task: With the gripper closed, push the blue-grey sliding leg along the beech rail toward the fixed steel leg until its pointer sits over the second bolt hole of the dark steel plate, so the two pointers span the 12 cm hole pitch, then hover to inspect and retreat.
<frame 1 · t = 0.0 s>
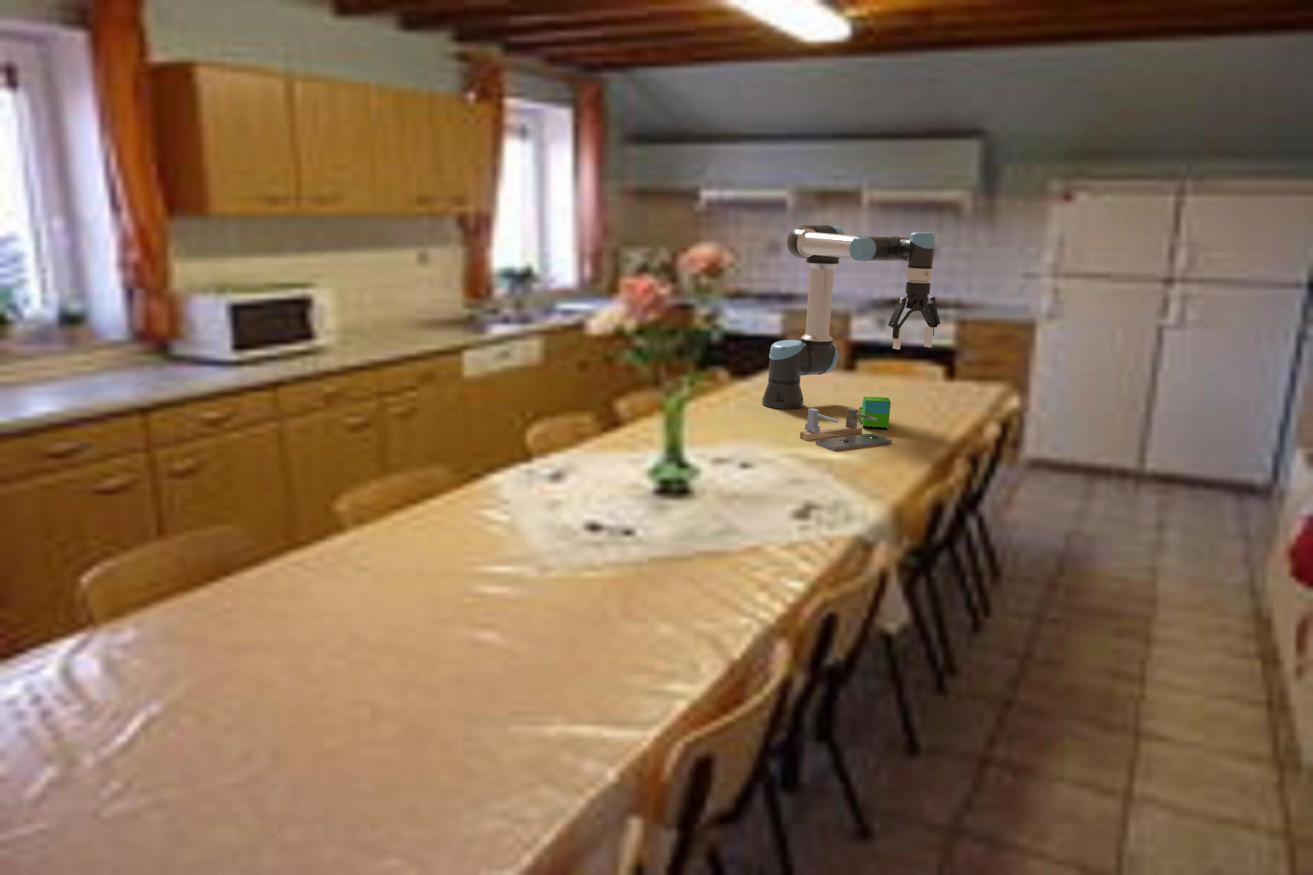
hand: (912, 348, 306), 28 cm above the table, fingers open, 13 cm apart
hole plate: (853, 443, 295), on the table
rail: (831, 435, 304), on the table
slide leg: (821, 423, 295), point 6 cm above the table, slide at -8.0 cm
green box: (873, 426, 320), on the table
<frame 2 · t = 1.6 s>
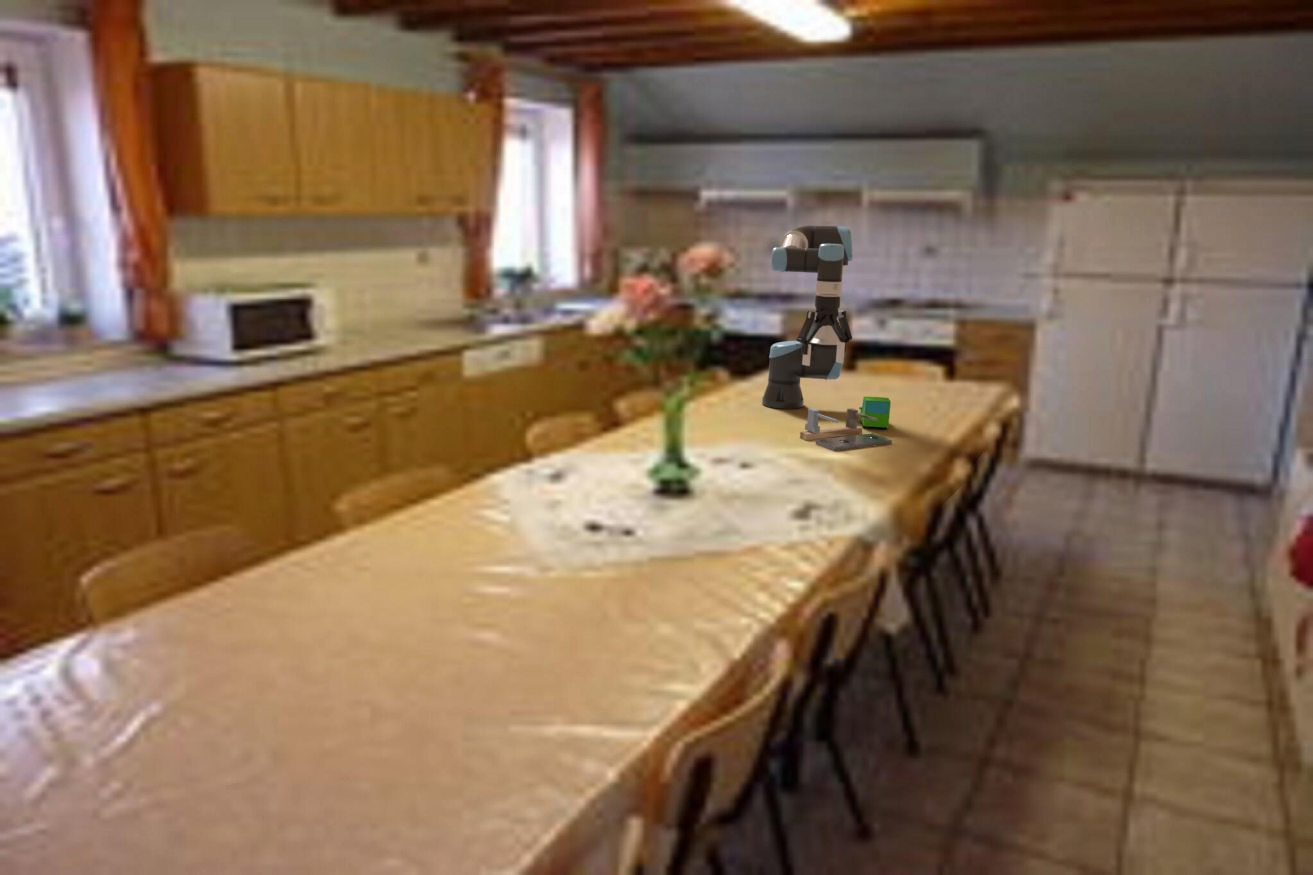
hand: (822, 364, 294), 24 cm above the table, fingers open, 13 cm apart
nothing on the table moved.
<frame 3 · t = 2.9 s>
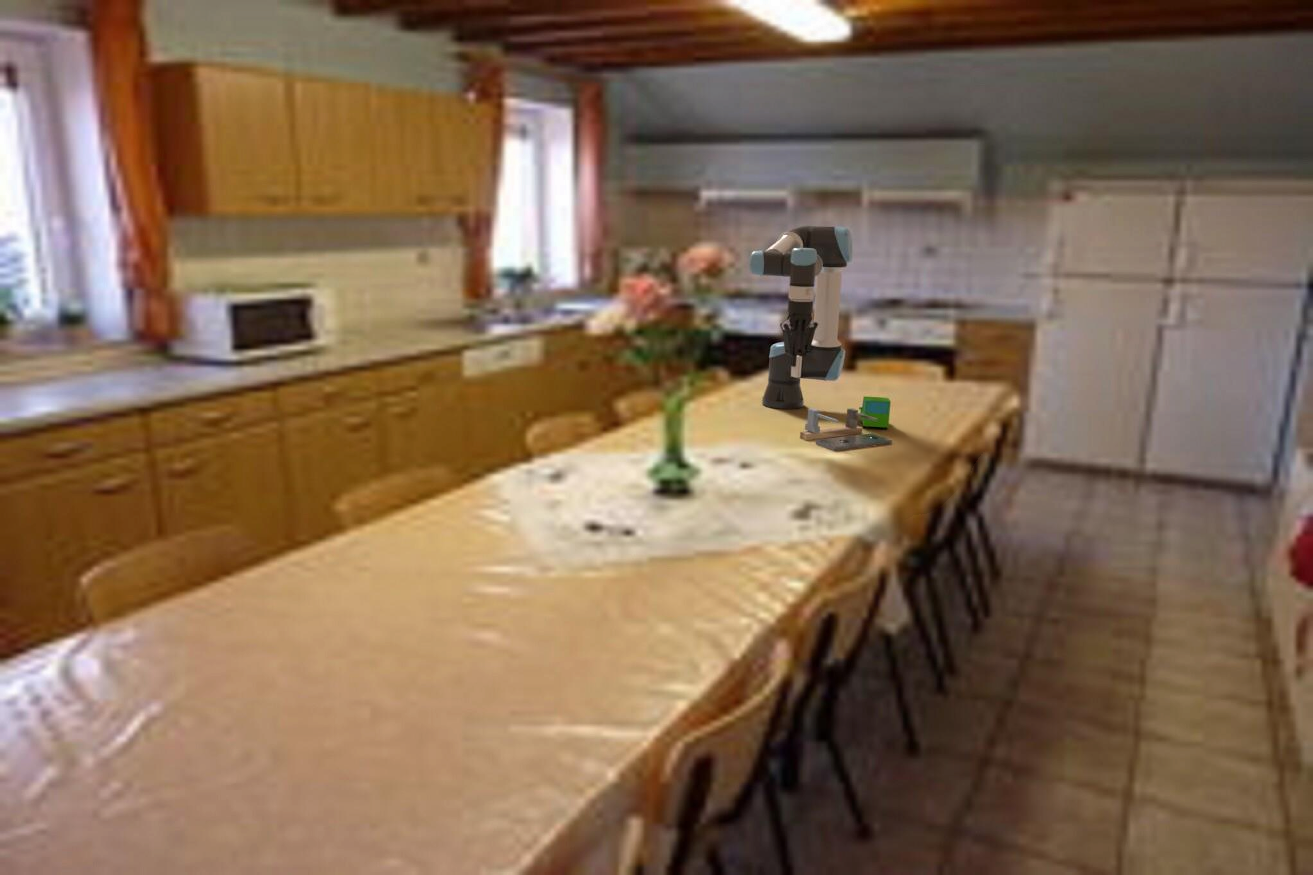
hand: (795, 376, 292), 20 cm above the table, fingers closed
nothing on the table moved.
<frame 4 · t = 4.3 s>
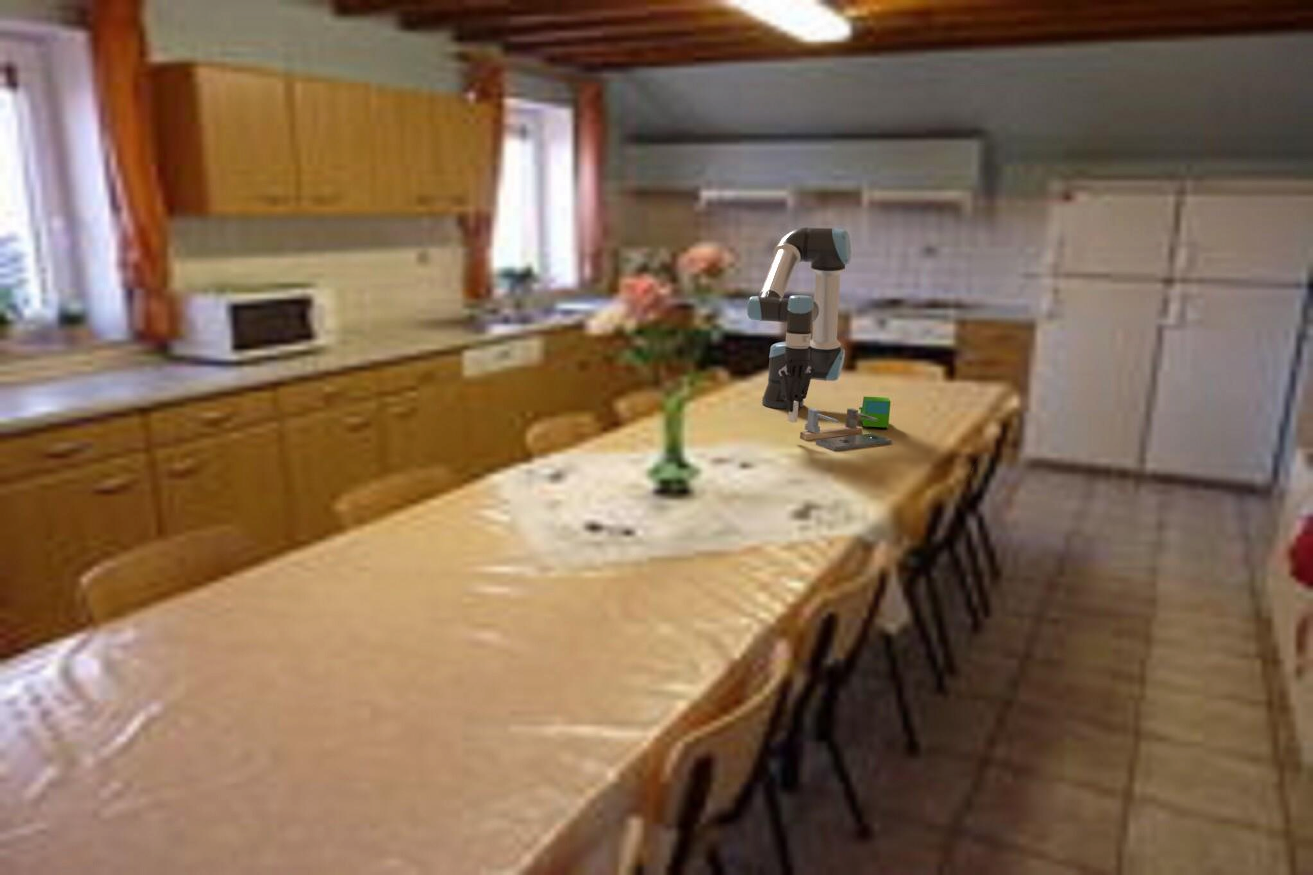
hand: (792, 421, 295), 6 cm above the table, fingers closed
nothing on the table moved.
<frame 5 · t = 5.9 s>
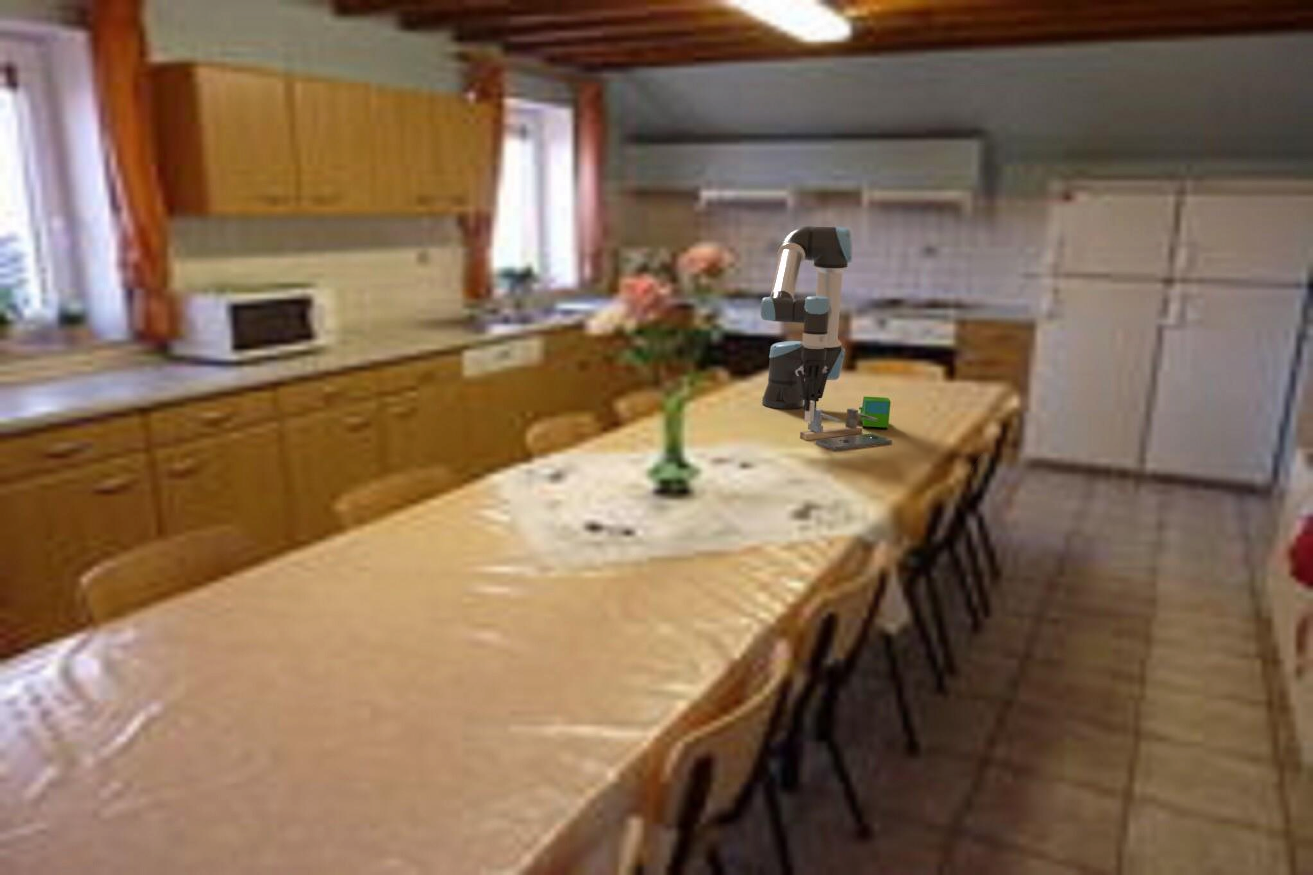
hand: (808, 420, 298), 6 cm above the table, fingers closed
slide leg: (825, 423, 296), point 6 cm above the table, slide at -6.7 cm, touching gripper
everything else where it was.
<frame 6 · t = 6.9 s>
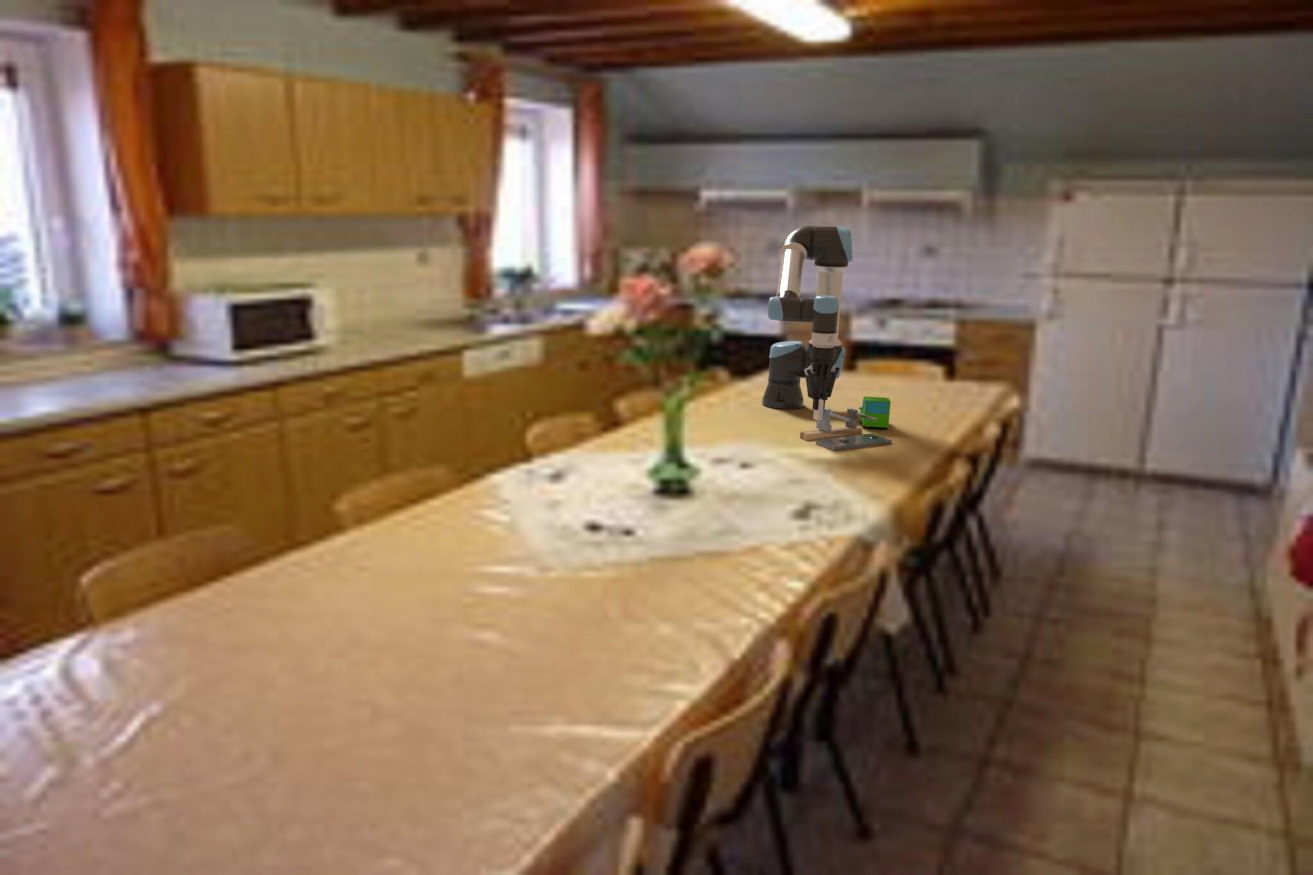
hand: (817, 419, 300), 6 cm above the table, fingers closed
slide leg: (833, 422, 297), point 6 cm above the table, slide at -3.3 cm, touching gripper
everything else where it was.
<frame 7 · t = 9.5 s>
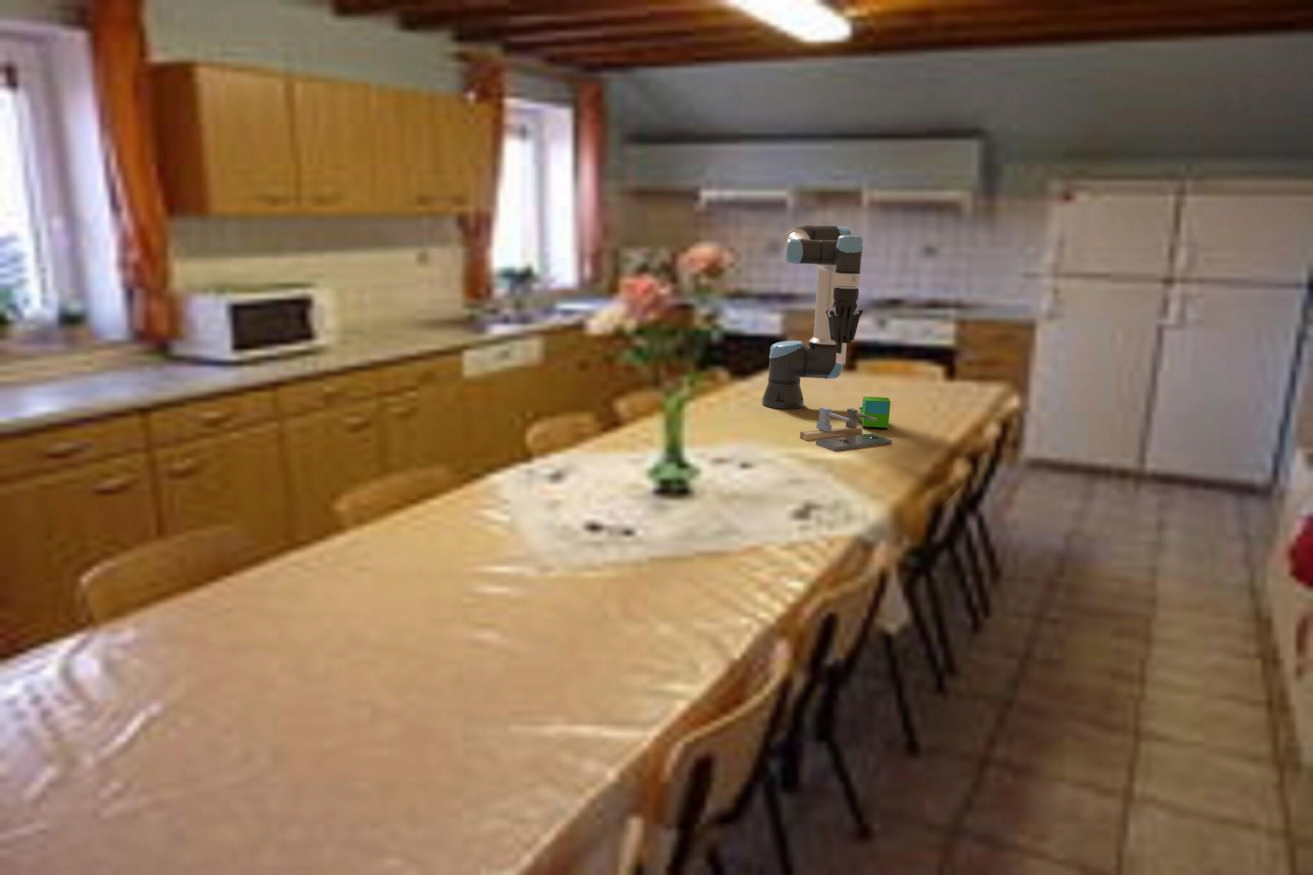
hand: (840, 363, 294), 24 cm above the table, fingers closed
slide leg: (833, 422, 297), point 6 cm above the table, slide at -3.3 cm
everything else where it was.
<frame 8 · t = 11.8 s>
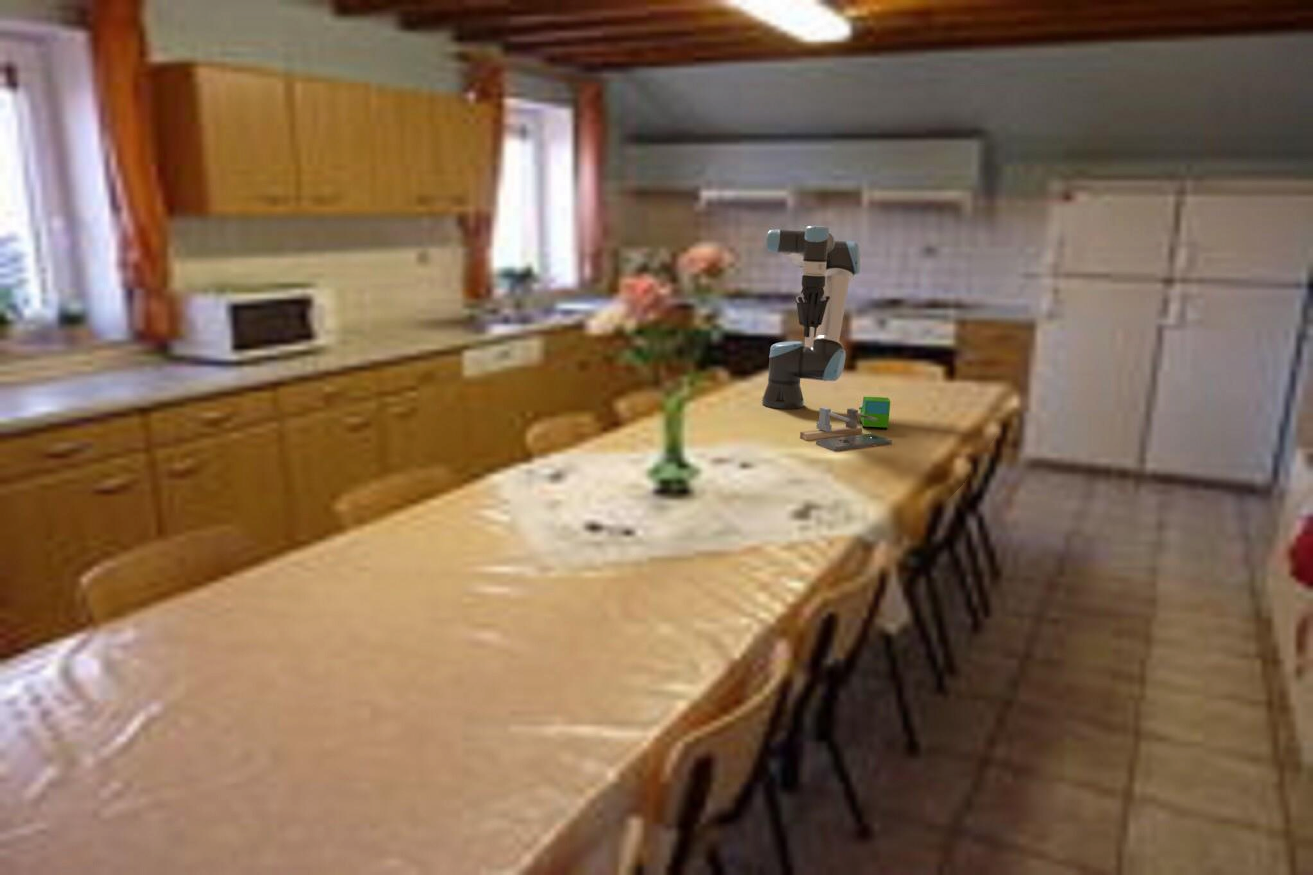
hand: (808, 346, 312), 26 cm above the table, fingers closed
nothing on the table moved.
at the end: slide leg slide at -3.3 cm; the gripper is holding nothing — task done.
